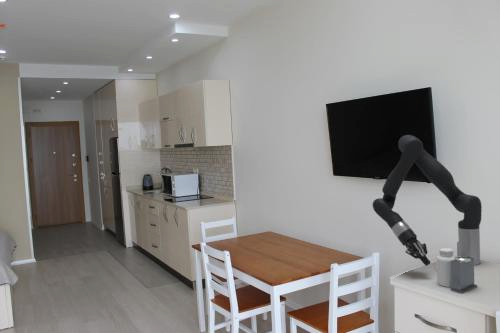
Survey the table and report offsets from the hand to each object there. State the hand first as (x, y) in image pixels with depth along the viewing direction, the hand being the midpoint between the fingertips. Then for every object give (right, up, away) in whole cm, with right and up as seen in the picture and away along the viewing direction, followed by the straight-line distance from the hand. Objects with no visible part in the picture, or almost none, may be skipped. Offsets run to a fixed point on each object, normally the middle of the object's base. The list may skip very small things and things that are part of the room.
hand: (428, 264), depth 191 cm
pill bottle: (+5, -7, -7) cm, 11 cm away
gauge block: (+9, -7, -13) cm, 17 cm away
